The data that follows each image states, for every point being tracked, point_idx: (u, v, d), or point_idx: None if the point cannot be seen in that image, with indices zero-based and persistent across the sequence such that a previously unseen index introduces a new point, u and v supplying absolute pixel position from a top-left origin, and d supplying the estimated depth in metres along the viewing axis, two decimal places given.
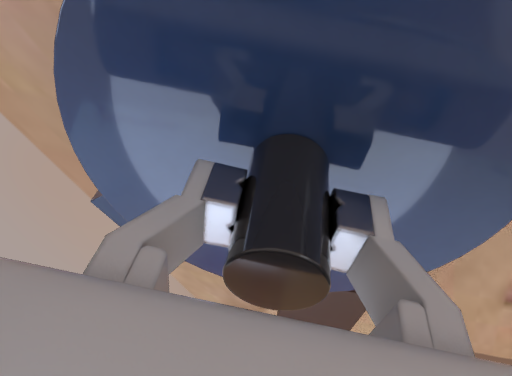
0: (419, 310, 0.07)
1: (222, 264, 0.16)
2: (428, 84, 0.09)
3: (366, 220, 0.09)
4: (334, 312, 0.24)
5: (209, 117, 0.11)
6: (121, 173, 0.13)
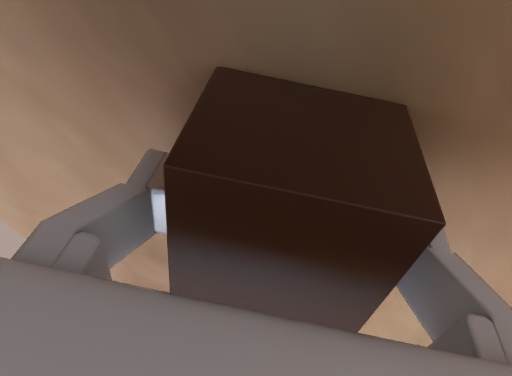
0: (488, 325, 0.07)
1: None
2: None
3: None
4: (310, 284, 0.09)
5: None
6: None
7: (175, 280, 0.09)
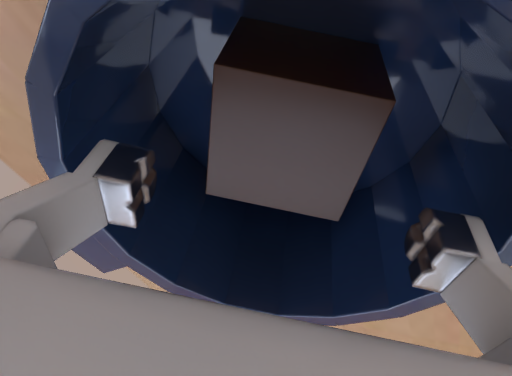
0: None
1: None
2: None
3: (469, 242, 0.09)
4: (309, 163, 0.12)
5: None
6: None
7: (211, 168, 0.13)
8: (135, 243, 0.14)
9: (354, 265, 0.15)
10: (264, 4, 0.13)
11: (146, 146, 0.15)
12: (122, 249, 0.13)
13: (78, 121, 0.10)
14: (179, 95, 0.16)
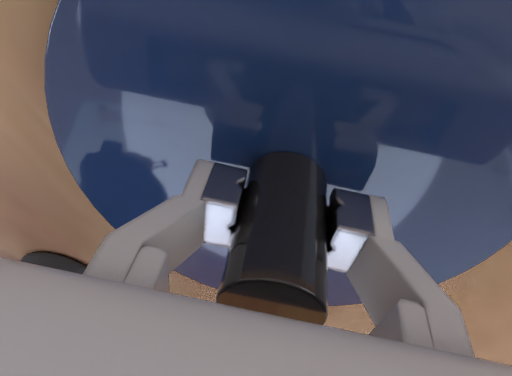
0: (419, 310, 0.07)
1: (219, 278, 0.16)
2: (428, 103, 0.09)
3: (366, 220, 0.09)
4: None
5: (204, 134, 0.10)
6: (115, 189, 0.13)
7: None
8: None
9: None
10: None
11: None
12: None
13: None
14: None
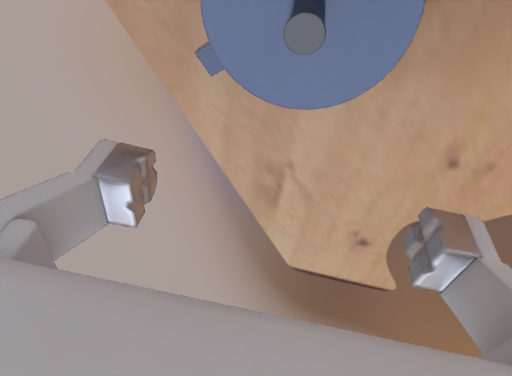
0: None
1: (268, 90, 0.29)
2: None
3: (469, 242, 0.09)
4: None
5: None
6: (223, 24, 0.26)
7: None
8: None
9: None
10: None
11: None
12: None
13: None
14: None
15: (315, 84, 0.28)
